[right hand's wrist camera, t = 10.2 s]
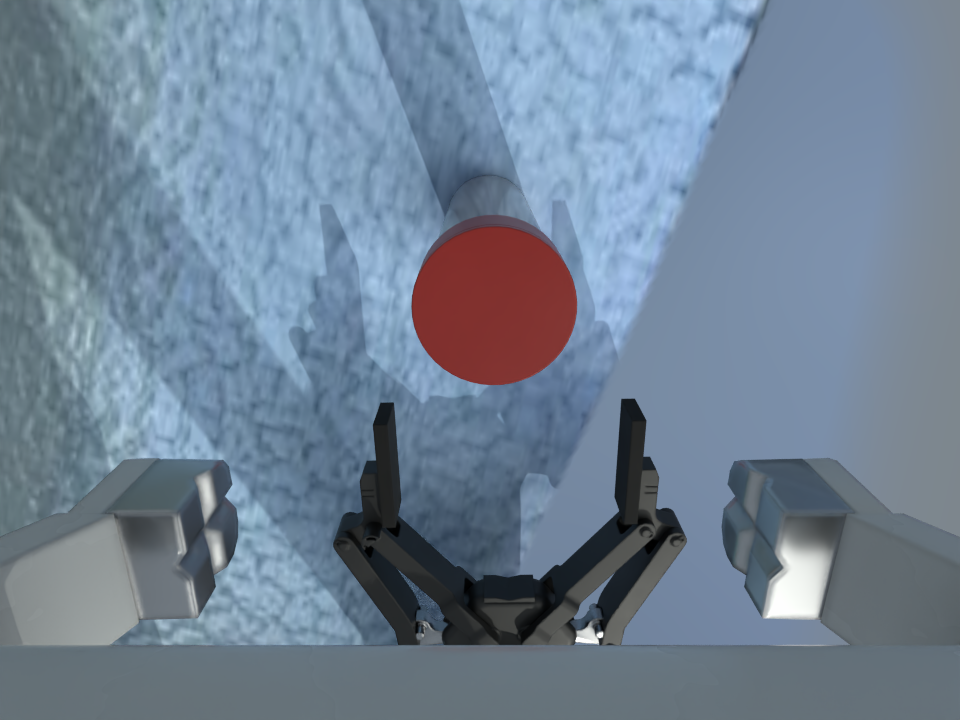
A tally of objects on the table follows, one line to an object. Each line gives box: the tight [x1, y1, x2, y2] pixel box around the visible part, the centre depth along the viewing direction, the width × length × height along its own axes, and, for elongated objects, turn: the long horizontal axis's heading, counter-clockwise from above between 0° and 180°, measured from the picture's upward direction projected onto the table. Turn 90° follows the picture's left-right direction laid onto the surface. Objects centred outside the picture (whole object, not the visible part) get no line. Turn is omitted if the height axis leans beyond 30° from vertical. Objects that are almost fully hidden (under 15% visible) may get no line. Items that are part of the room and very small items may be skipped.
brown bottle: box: [438, 175, 541, 238], centre depth 29 cm, size 5×5×18 cm
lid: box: [412, 215, 577, 385], centre depth 21 cm, size 5×5×2 cm
